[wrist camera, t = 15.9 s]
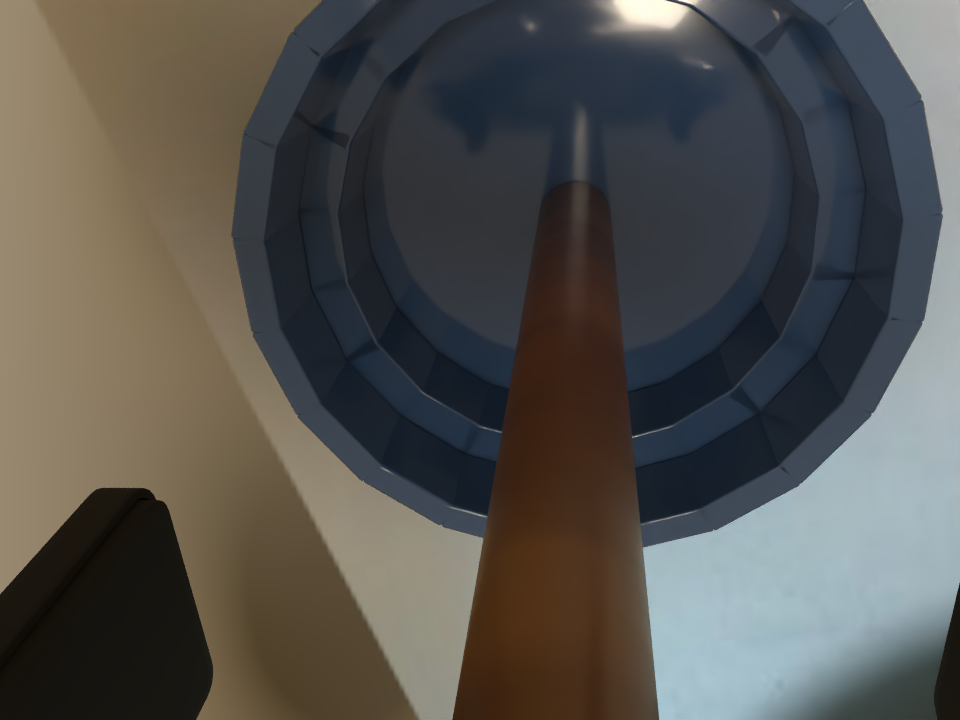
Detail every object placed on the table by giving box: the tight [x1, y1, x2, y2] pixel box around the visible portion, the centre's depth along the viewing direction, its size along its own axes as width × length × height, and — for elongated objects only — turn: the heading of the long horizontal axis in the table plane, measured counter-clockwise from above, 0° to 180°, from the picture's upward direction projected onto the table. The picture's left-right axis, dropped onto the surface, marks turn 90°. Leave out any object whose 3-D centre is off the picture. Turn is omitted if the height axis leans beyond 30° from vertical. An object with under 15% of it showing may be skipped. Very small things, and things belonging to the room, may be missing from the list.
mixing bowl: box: [231, 0, 943, 547], centre depth 22 cm, size 16×16×6 cm
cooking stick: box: [453, 181, 659, 720], centre depth 15 cm, size 2×2×20 cm
